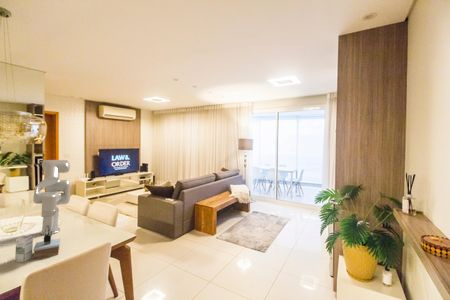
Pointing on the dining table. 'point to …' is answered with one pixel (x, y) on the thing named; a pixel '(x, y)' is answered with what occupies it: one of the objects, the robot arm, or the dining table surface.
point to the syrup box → (24, 248)
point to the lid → (47, 244)
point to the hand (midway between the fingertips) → (47, 239)
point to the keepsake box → (46, 252)
